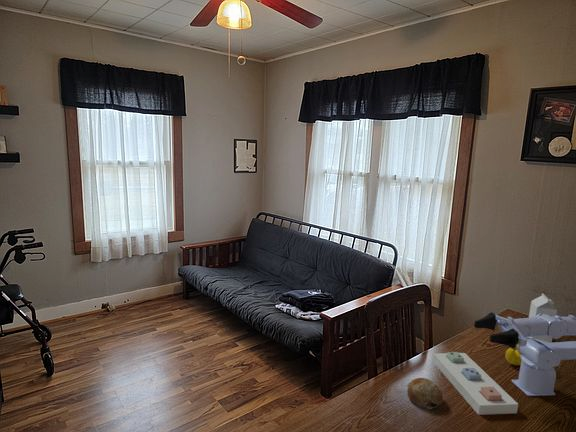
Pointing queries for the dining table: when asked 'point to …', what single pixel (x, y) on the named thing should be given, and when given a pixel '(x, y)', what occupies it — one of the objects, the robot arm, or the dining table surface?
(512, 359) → the duckling
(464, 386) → the button panel
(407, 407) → the dining table surface
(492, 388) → the button one
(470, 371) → the button three
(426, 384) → the bread roll
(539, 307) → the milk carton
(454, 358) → the button two
